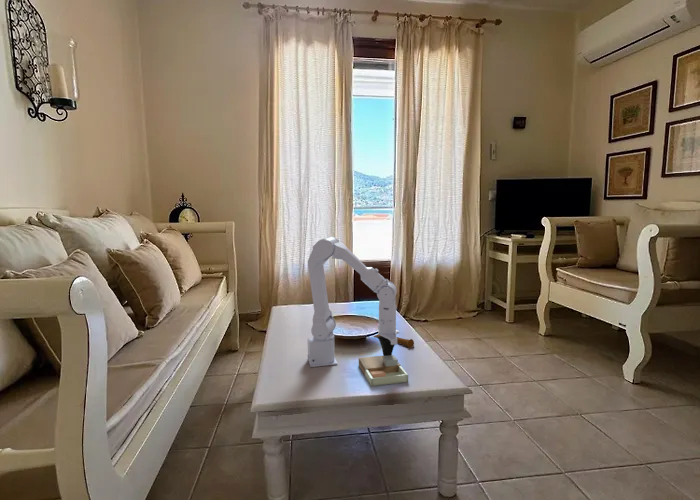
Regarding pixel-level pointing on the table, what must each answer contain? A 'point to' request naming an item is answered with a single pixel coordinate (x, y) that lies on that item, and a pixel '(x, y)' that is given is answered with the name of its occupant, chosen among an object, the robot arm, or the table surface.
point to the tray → (388, 378)
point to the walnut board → (376, 365)
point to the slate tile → (390, 360)
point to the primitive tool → (403, 341)
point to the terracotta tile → (377, 374)
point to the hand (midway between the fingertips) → (387, 357)
